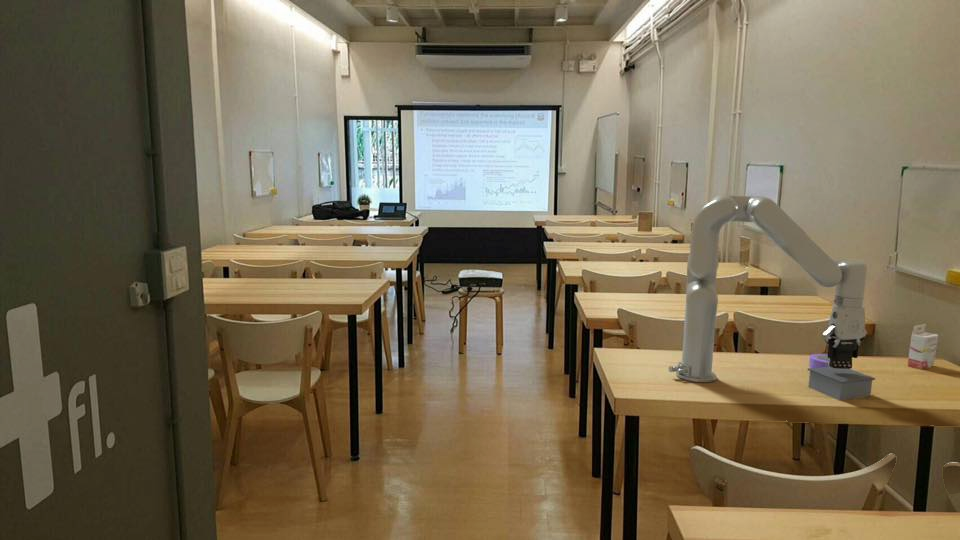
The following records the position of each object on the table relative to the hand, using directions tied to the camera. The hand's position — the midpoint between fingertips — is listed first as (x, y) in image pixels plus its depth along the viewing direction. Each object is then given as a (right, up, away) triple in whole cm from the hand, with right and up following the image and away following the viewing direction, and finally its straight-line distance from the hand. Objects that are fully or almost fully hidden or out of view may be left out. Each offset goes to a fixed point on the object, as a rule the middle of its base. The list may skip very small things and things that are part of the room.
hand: (842, 357), depth 199 cm
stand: (0, -11, +2) cm, 11 cm away
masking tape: (+9, -8, +25) cm, 28 cm away
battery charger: (0, -4, +1) cm, 4 cm away
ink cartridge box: (+45, -7, +29) cm, 54 cm away
